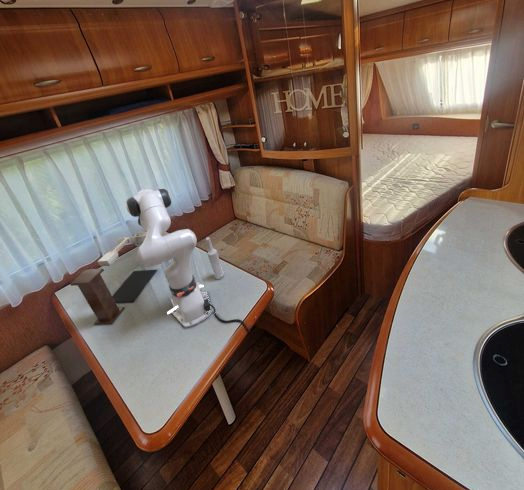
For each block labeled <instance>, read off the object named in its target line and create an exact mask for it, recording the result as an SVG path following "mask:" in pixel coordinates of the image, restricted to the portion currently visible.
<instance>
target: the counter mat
mask: <svg viewBox="0 0 524 490" xmlns="http://www.w3.org/2000/svg"><path fill="white" fill-rule="evenodd" d="M156 272H157V269H145V270H143V269H142V270H133V271H132V273H131V274H130V275H128V277H127V278H126V279H125V280H124V282H123V283H122V284H121V285H120V286H119V287H118V288H117V290H116V291H115V292H114V294H113V295H112V297H113V299H114V300H115V302H116V304H124V303H134V302H135V300H136V299H137V298H138V296H139V295H140V294H141V292H143V290H144V289H145V287H146V286H147V284H148V283H149V282H150V280H151V279H152V278H153V277H154V275H155V274H156Z"/></svg>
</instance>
